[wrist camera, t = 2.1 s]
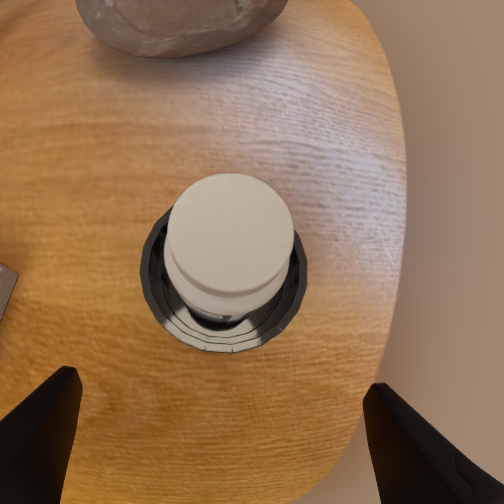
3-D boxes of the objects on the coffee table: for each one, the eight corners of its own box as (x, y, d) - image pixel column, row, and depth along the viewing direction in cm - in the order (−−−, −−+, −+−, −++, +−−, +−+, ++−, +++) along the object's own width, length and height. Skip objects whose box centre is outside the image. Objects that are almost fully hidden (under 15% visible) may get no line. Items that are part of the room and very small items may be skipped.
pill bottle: (247, 230, 22) (275, 146, 13) (277, 309, 21) (333, 275, 11) (167, 255, 21) (138, 181, 12) (194, 338, 20) (180, 328, 10)
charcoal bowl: (260, 371, 20) (274, 377, 16) (132, 318, 20) (113, 309, 15) (305, 249, 23) (326, 226, 18) (188, 201, 23) (184, 168, 18)
